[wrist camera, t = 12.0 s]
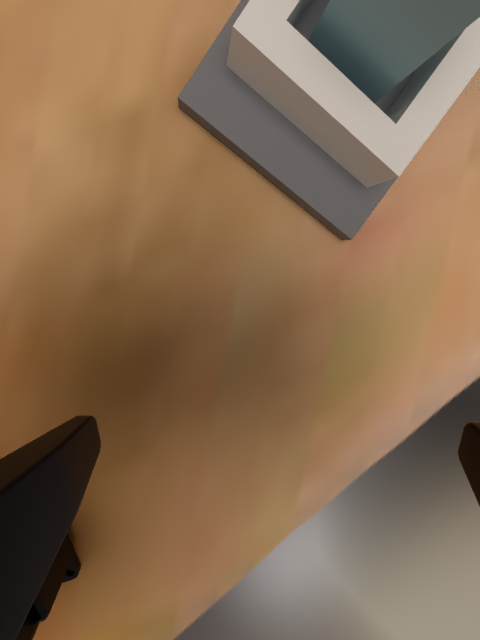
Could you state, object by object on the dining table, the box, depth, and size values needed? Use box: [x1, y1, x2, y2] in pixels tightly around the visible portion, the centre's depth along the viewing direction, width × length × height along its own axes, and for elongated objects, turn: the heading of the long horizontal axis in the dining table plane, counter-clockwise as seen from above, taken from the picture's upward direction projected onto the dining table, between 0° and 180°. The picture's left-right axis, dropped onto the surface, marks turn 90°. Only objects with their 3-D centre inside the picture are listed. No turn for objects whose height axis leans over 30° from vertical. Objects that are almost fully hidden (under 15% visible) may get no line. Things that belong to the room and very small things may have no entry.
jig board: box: [178, 0, 480, 240], centre depth 16 cm, size 14×11×4 cm
